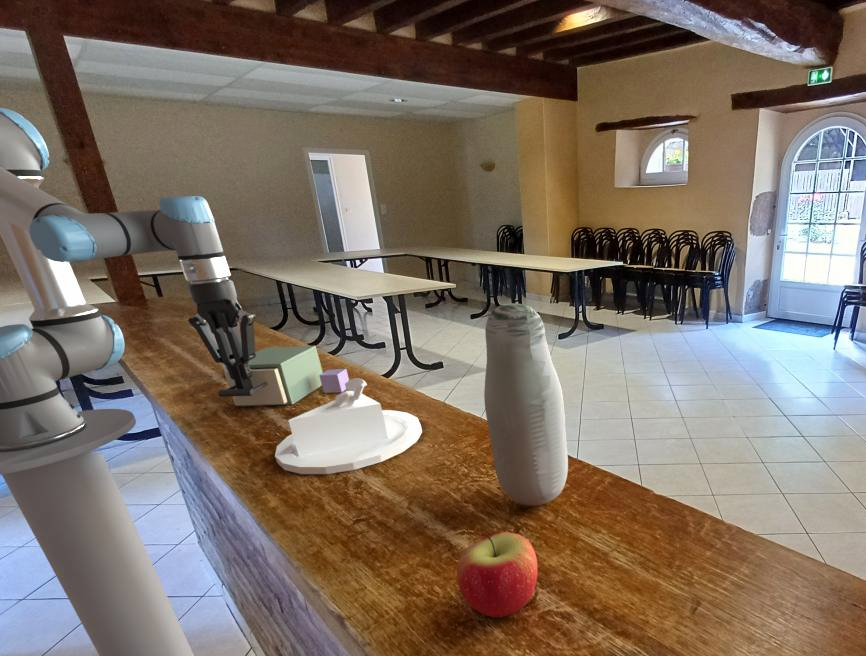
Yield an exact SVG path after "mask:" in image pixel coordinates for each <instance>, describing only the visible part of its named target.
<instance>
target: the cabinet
mask: <svg viewBox="0 0 866 656" xmlns="http://www.w3.org/2000/svg"><path fill="white" fill-rule="evenodd" d="M255 352H256V357H255V358H253V359H251V360H249V362H248V364H249V367H250V368H269V367H278V368H279V372H280V375H281V379H282V382H283V385H284V389H285V392H286V396H287V402H286V403H285V404H264V405H238V407H263V406H288V405H289V406H292V405H295V404H296V403H297V402H299V401H301V400H302V399H303V398H305V397H306V396H308V395H309V394H312V393H313V392H314V391H316V390H317V389H319V388H320V387H322V384H321V380H320V376H319V375H321V374H322V373H324V372H323V368H322V364H321V361H320V357H319V353H318V350H317V346H316V345H301V346H300V345H299V346H297V345H296V346H295V345H294V346H275V347H264V348H262V349H260V350H258V351H255ZM226 369H227V366H226ZM227 370H228V369H227Z"/></svg>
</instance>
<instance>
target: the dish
mask: <svg viewBox="0 0 866 656" xmlns="http://www.w3.org/2000/svg"><path fill="white" fill-rule="evenodd" d="M367 385H368V384H367V382H366V381H365V380H364V379H363V378H361V377H354V378H352V379H349V381H348V382H347V383H345V387H346V390H344V391H343V392H340V393H338V395H336V396H335V397H334V398H335V399H334V400H332V401H330V402H327V403H325V404H323V405H319V406H317V407H316V408H313V409H311V410H308V411H306V412H304V413H302V414H299V415H297V416H294V417H292V418H290V419H288V420H287V421H288V424H289V428H290V431H291V434H289V435H287V436H286V437H285V438H284V439H282V441H281V442H280V443H279V444H277V445H276V449H275V452H274V458H275V461H276V463H277V464H278V465H279V466H280V467H281V468H282V469H283V470H284V471H287V472H291V473H295V474H299V475H331V474H335V473H342V472H350V471H355V470H358V469H362V468H365V467H366V468H367V467H369V466H372V465H375V464H378V463H382V462H384V461H387V460H389V459H390V458H393V457H396V456H397V455H399V454H402V453H403V452H405V451H406V450H408V449H409V448H410V447H412V446H413V445H415V444H416V443H417V442H418V440H419V439H420V437H421V435H422V433H423V429H422V425H421V422H420V420H419V418H418V417H417V416H416V415H413V414H412V413H409V412H407V411H400V410H392V409H385V410H384V409H383V408H382V405H381V403H380V402H378V401H377V400H374V399H373V398H370V397H369V396H366V395H365V394H363V390H364V388H365V387H366V386H367Z"/></svg>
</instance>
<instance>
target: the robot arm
mask: <svg viewBox="0 0 866 656" xmlns="http://www.w3.org/2000/svg"><path fill="white" fill-rule="evenodd" d="M49 158H50V153H49V149H48V146H47V144H46V142H45V140H44V138H43V136H42V135H41V133H40V132H39V131H38V129H37V128H36V127H35V126H34V125H33V124H32V122H30V121H29V120H28V119H27V118H25V117H23V115H22V114H20V113H18V112H16V111H14V110H11V109H9V108H6V107H0V237H1V239H2V241H3V244H4V245H5V248H6V250H7V252H8V255H9V257H10V258H11V261H12V263H13V266H14V267H15V269H16V272H17V274H18V276H19V279H20V281H21V283H22V285H23V287H24V289H25V291H26V294H27V296H28V299H29V300H30V302H31V304H32V306H33V312H32V313H31V314H30V316H29V317H28V320H29V322H30V324H31V326H32V328H31V327H30V326H29V325H27V324H25V323H18V324H17V323H15V324H7V325H4V326H0V452H11V451H19V450H25V449H31V448H35V447H40V446H43V445H47V444H51V443H54V442H57V441H60V440H63V439H66V438H69V437H71V436H73V435H75V434H77V433H79V432H81V431H83V430H84V429H85V428H86V427H87V425H86V422H85V420H84V419H83V417H82V416H81V415H80V414H78V411H77V410H76V406H74V404H72V403H69V402H68V400H66V399H65V397H63V396H62V394H61V391H60V390H59V388H58V386H57V383H56V382H57V381H58V382H59V381H62V380H65V379H69V378H72V377H74V376H78V375H82V374H86V373H89V372H92V371H99V370H102V369H104V368H106V367H109V366H112V365H115V364H116V363H117V362H119V361H120V360H121V358H122V356H123V354H124V352H125V345H126V344H125V339H124V335H123V332H122V330H121V328H120V327H119V325H118V324H116V323H115V320H113V319H112V318H111V317H109V316H107V315H104V314H101V313H100V310H99V309H98V307H96V306H94V305H92V304H90V303H88V302H87V300H86V298H85V296H84V294H83V292H82V290H81V289H82V288H81V286H80V284H79V281H78V280H77V276H76V274H75V273H74V270H73V267H72V265H71V263H83V262H87V261H93V260H100V259H106V258H107V259H108V258H115V257H122V256H131V255H140V254H148V253H157V252H169V251H170V252H171V251H175V252H176V255H177V259H178V261H179V264H180V266H181V270H182V272H183V276H184V279H185V281H186V282H190V283H189V284H188V285H187V287H188V291H189V293H190V296H191V300H192V302H193V303H195V304H196V314H195V315H194V316H192V317H190V318H189V317H188V319H187V322H188V323H189V324H190V325H191V327H193V328H194V329H195V331H196V332H197V334H198V336H199V337H200V339H201V340H202V343H203V344H204V346H205V348H206V349H207V351H208V352H209V354H210V356H211V358H212V359H213V361H214V362H215V363H217V364H219V363H220V364H221V363H223V364H225V365H226V366H227V369H228V372H229V375H230V378H231V379H234V381H235V384H236V387H237V389H253V386H252V383H251V380H250V377H252V373H251V370H250V367H249V364H248V362H249V360H251V359H253V358H255V357H256V352H257V351H256V341H255V340H256V339H255V327H254V324H255V320H256V318H257V316H256V314H255V313H254V312H250V313H249V312H247V311H245V310H243V309H242V308H243V307H242V306H241V305H240V303H239V301H238V300H237V299H238V293H237V291H236V287H235V284H234V280H232V279H231V278H229V277H231V276H232V273H231V271H230V267H229V263H228V261H227V258H226V255H225V253H224V249H223V246H222V242H221V239H220V235H219V233H218V229H217V227H216V222H215V217H214V216H213V214H212V211H211V208H210V206H209V203H208V201H207V199H205V198H204V197H203V196H201V195H188V196H187V195H184V196H168V197H161V198H160V199H159V201H158V203H159V207H160V209H153V210H149V209H147V210H129V211H116V212H97V213H95V212H93V213H87V212H82V211H80V210H78V209H76V208H75V207H73V206H71V205H69V204H67V203H66V202H64V201H62V200H60V199H58V198H57V197H55V196H53V195H51V194H49V193H48V192H46V191H44V190H42V189H41V188H39V187H40V185H41V184H42V183H43V181H45V177H44V175H43V173H42V171H44V170H46V169H47V168H48V166H49V164H50V160H49ZM239 322H240V323H239Z"/></svg>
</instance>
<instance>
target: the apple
mask: <svg viewBox="0 0 866 656" xmlns="http://www.w3.org/2000/svg"><path fill="white" fill-rule="evenodd" d="M456 579H457V584H458V588H459V591H460V593H461V595H462V597H463V599H464V600H465V602H467V604H468V605H469V606H470V607H471V608H472V609H474V610H475V611H476V612H478V613H480V614H482V615H484V616H487V617H492V618H504V617H507V616H511V615H513V614H515V613H517V612H518V611H520V610H521V609H523V608H524V607H526V605H527V604H528V603H529V601H530V599H531V598H532V596H533V594H534V591H535V588H536V584H537V581H538V559H537V555H536V551H535V549H534V547H533V545H532V543H531V542H530V541H529V540H528V538H525V536H523V535H520V534H518V533H514V532H498V533H495V534H492V535H489V536H487V537H484V538H483V539H481V540H479V541H477V542H475V543H473V544H472V545H470V546H468V547H467V548H466V549H465V550H464V551H463V552H462V553H461V555H460V556H459V558H458V561H457V566H456Z"/></svg>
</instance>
